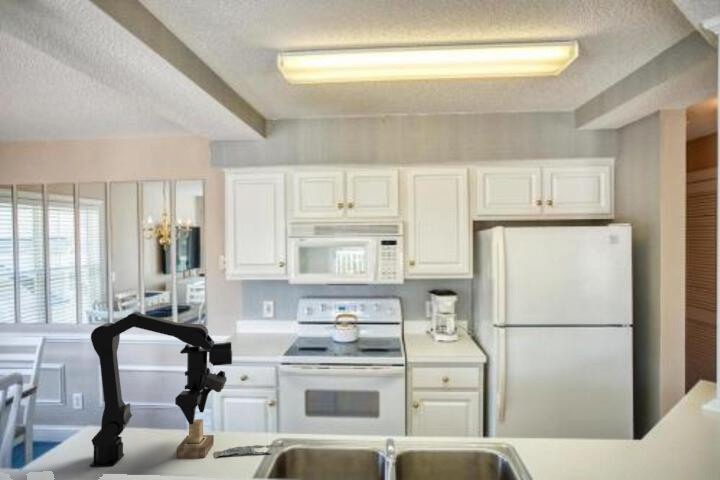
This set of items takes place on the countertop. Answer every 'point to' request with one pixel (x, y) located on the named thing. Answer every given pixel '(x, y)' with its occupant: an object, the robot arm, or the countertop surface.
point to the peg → (196, 432)
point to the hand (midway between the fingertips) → (196, 417)
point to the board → (195, 447)
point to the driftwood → (245, 450)
